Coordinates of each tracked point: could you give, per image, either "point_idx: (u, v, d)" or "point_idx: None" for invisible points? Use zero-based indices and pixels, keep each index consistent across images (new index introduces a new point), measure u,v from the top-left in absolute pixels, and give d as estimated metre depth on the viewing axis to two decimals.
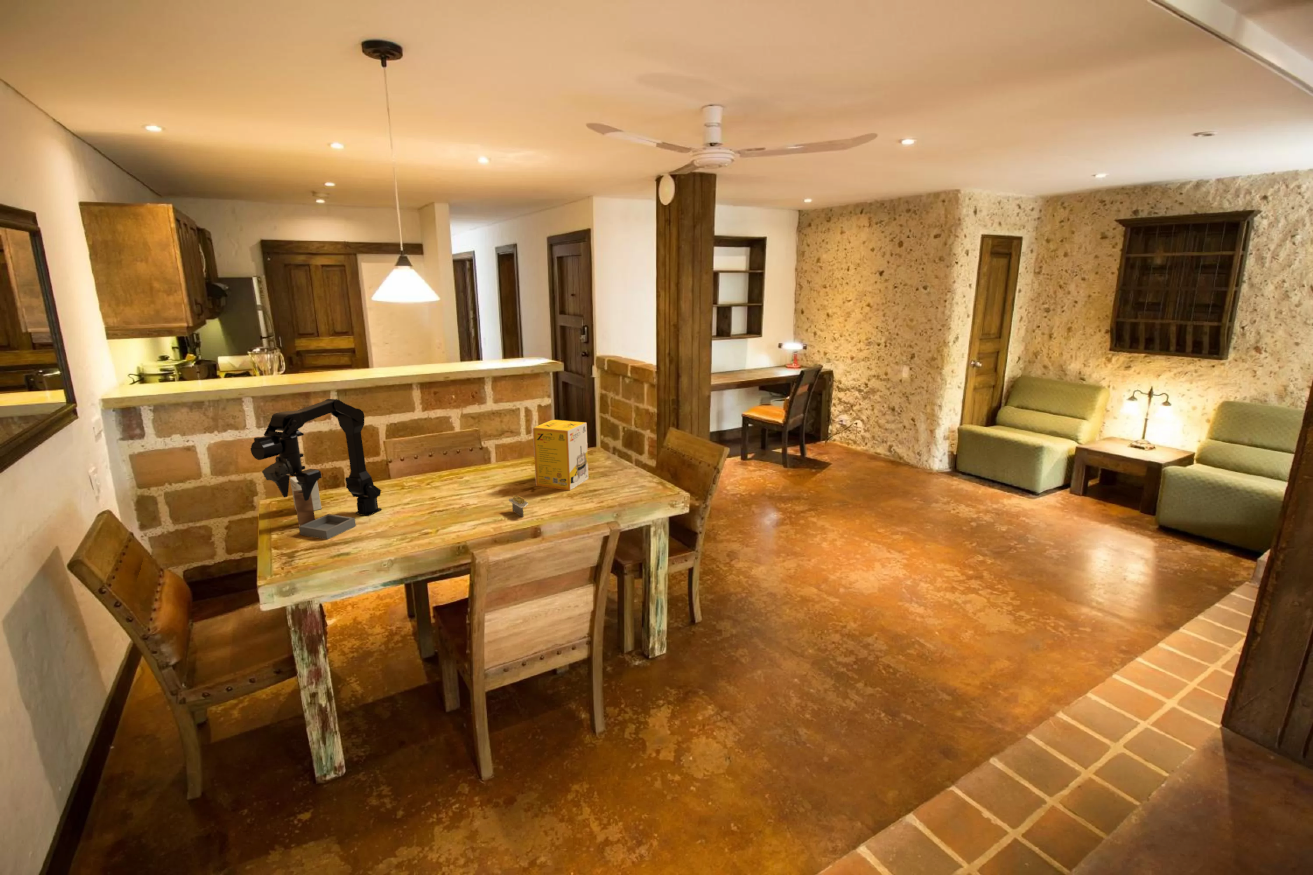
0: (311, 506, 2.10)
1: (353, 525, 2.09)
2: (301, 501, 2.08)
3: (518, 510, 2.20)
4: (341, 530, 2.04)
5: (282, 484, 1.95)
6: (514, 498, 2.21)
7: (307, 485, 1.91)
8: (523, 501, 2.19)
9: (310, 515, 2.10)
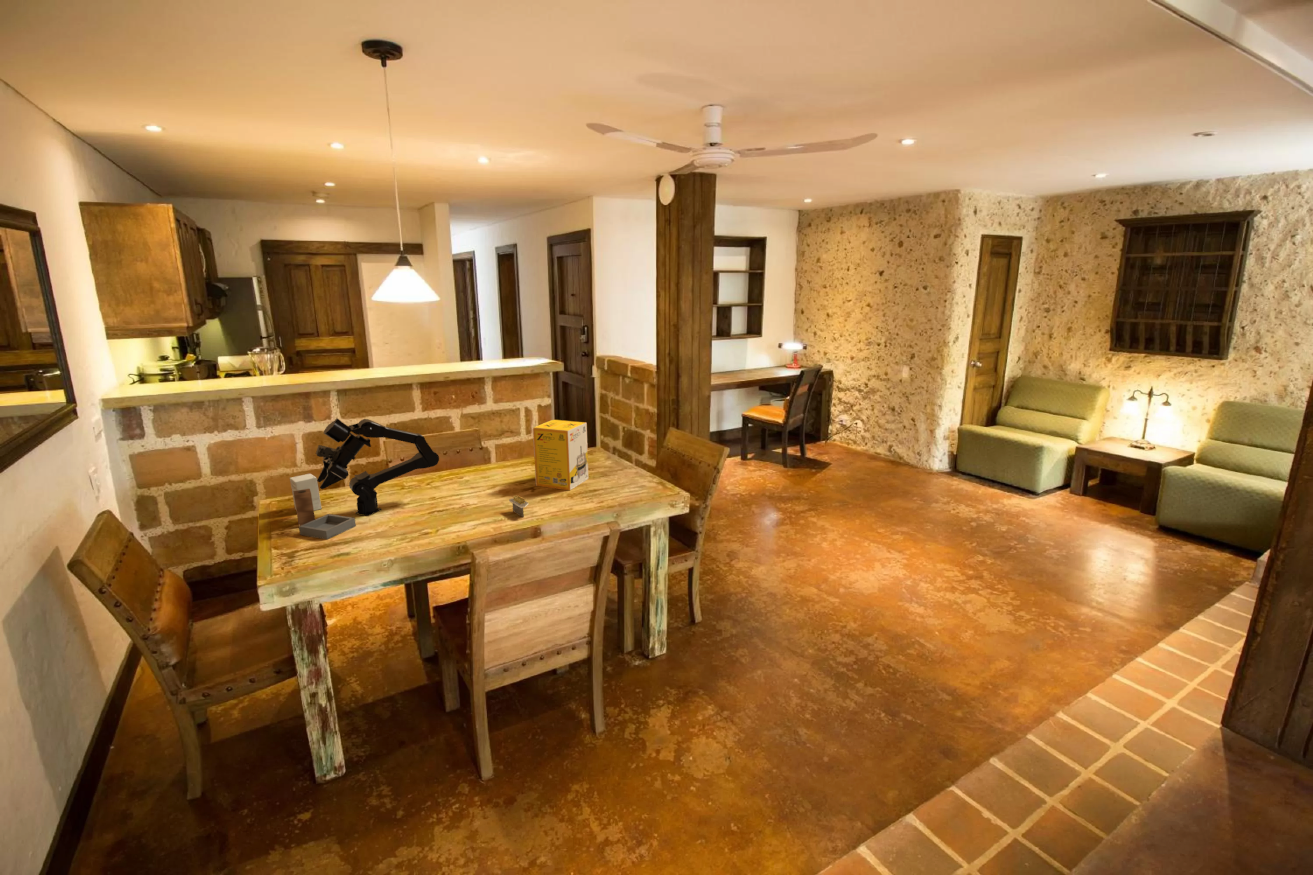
0: (311, 506, 2.10)
1: (353, 525, 2.09)
2: (301, 501, 2.08)
3: (518, 510, 2.19)
4: (341, 530, 2.04)
5: (325, 471, 2.16)
6: (514, 498, 2.21)
7: (331, 477, 2.08)
8: (523, 501, 2.19)
9: (310, 515, 2.10)
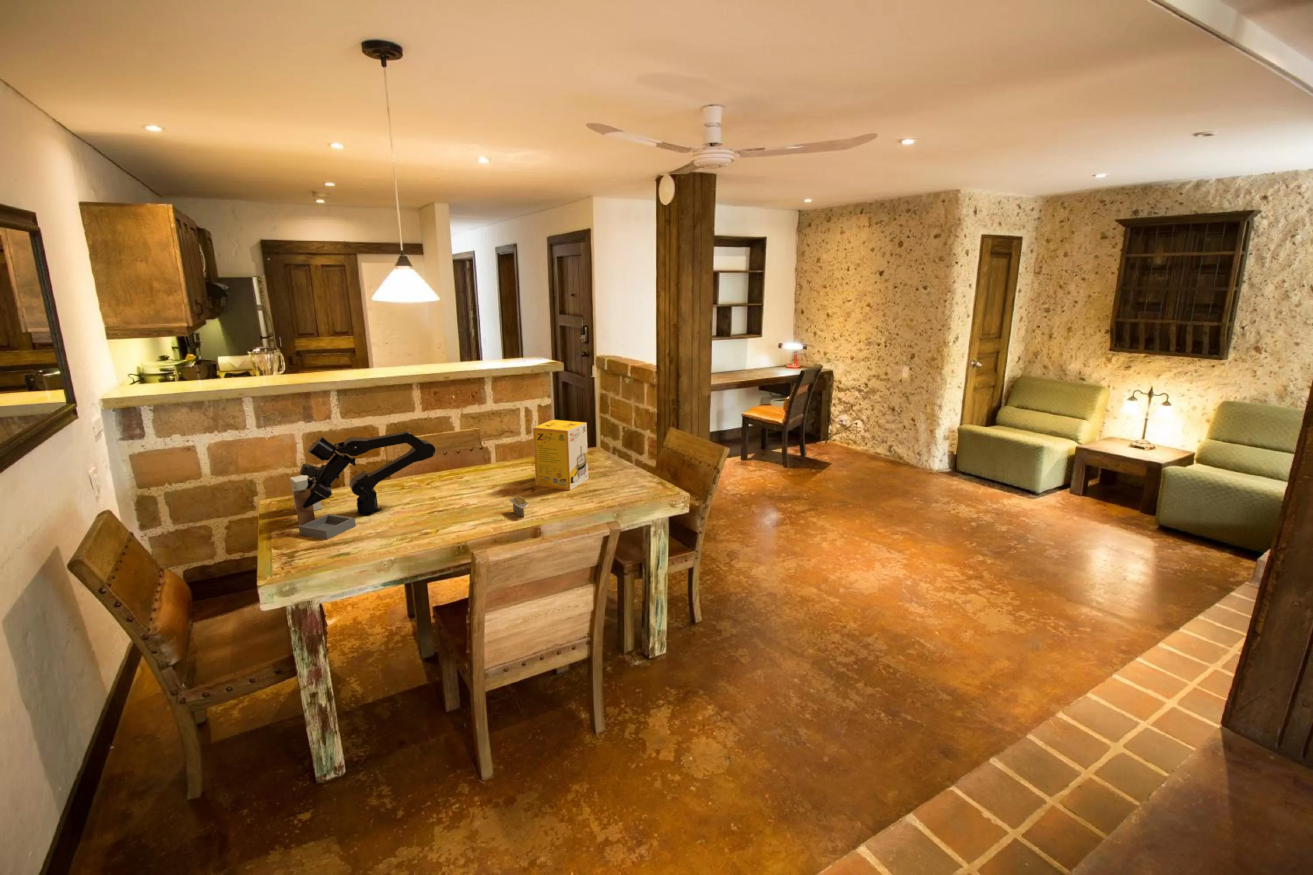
0: (311, 506, 2.10)
1: (353, 525, 2.09)
2: (301, 501, 2.08)
3: (519, 510, 2.19)
4: (341, 530, 2.04)
5: None
6: (515, 498, 2.20)
7: (314, 496, 2.07)
8: (524, 501, 2.19)
9: (310, 515, 2.10)
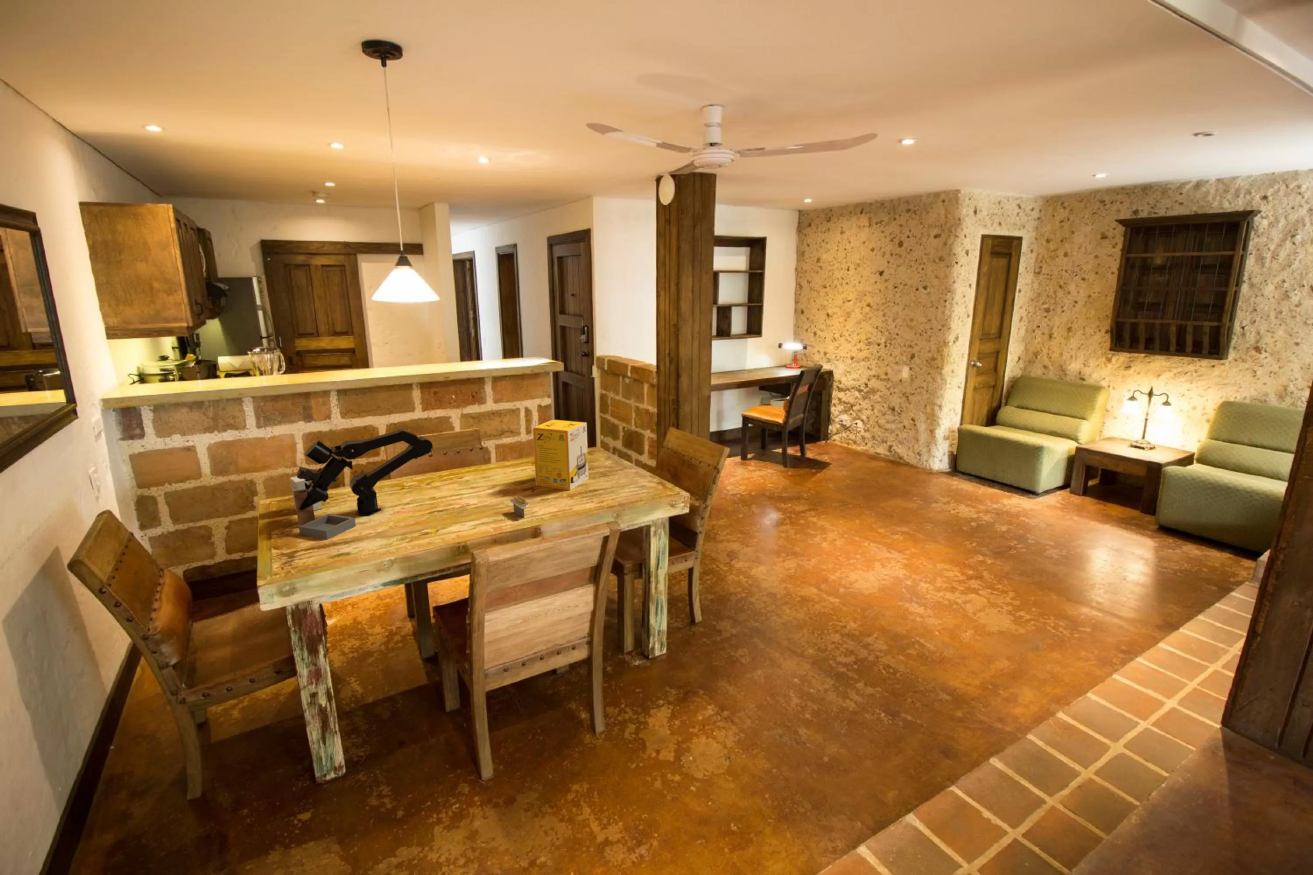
0: (311, 506, 2.10)
1: (353, 525, 2.09)
2: (301, 501, 2.08)
3: (519, 510, 2.19)
4: (341, 530, 2.04)
5: None
6: (515, 499, 2.20)
7: (311, 498, 2.08)
8: (524, 502, 2.19)
9: (310, 515, 2.10)
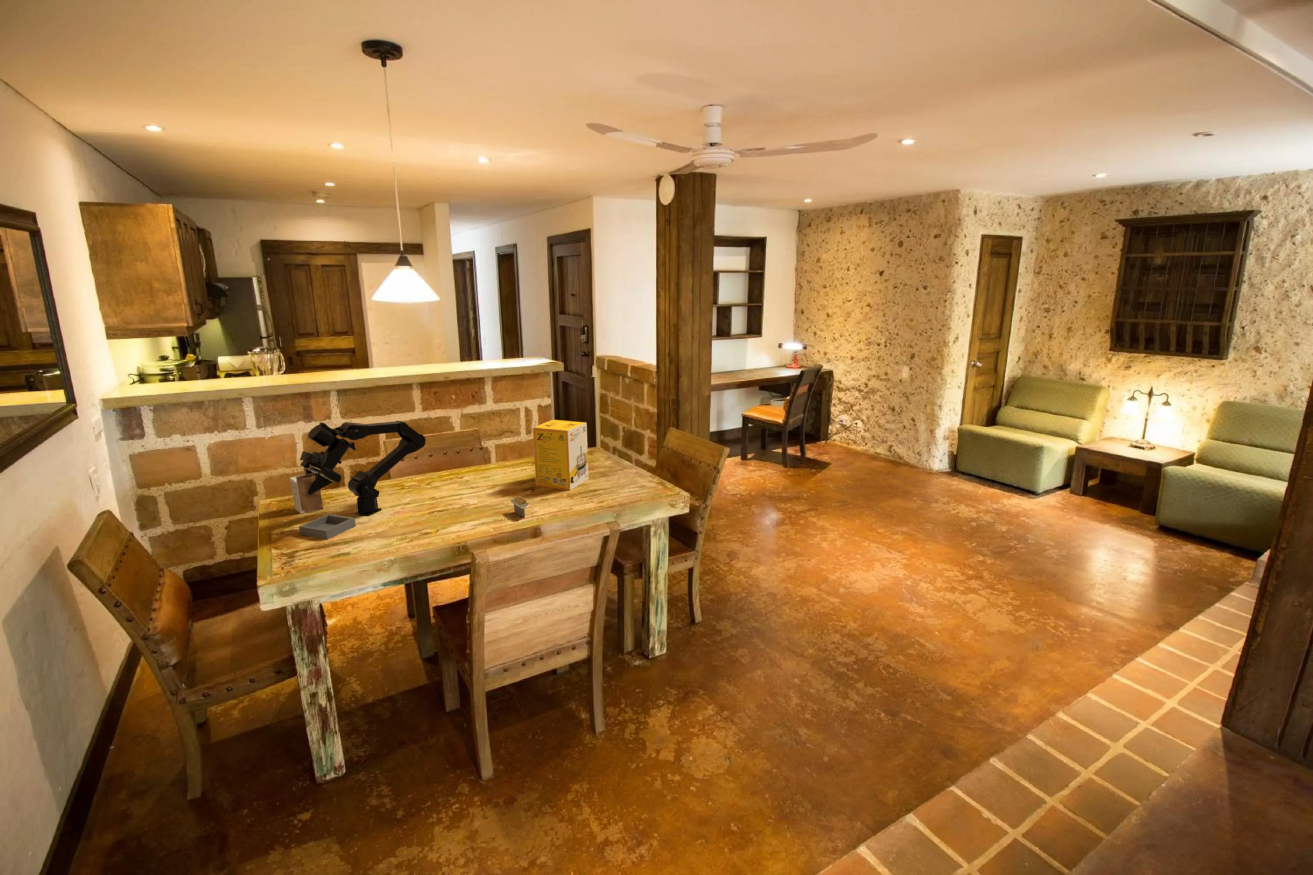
0: (318, 490, 2.05)
1: (353, 525, 2.09)
2: (309, 485, 2.03)
3: (520, 510, 2.19)
4: (341, 530, 2.04)
5: None
6: (516, 499, 2.20)
7: (320, 481, 2.04)
8: (525, 502, 2.18)
9: (318, 499, 2.06)
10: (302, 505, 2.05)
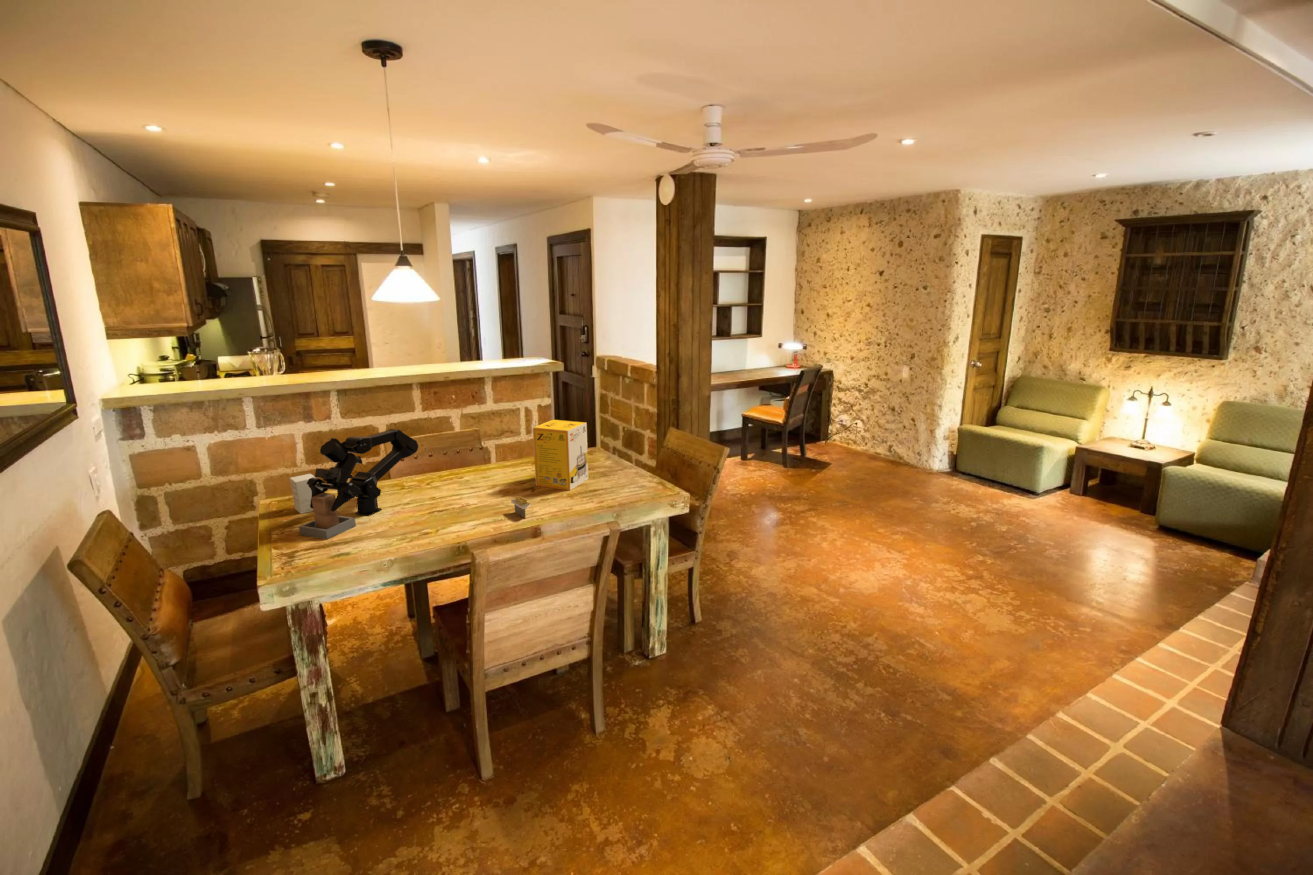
0: None
1: (353, 525, 2.09)
2: (328, 504, 2.03)
3: (520, 511, 2.18)
4: (341, 530, 2.04)
5: None
6: (516, 499, 2.20)
7: (342, 497, 2.04)
8: (525, 502, 2.18)
9: (335, 518, 2.06)
10: (319, 525, 2.04)
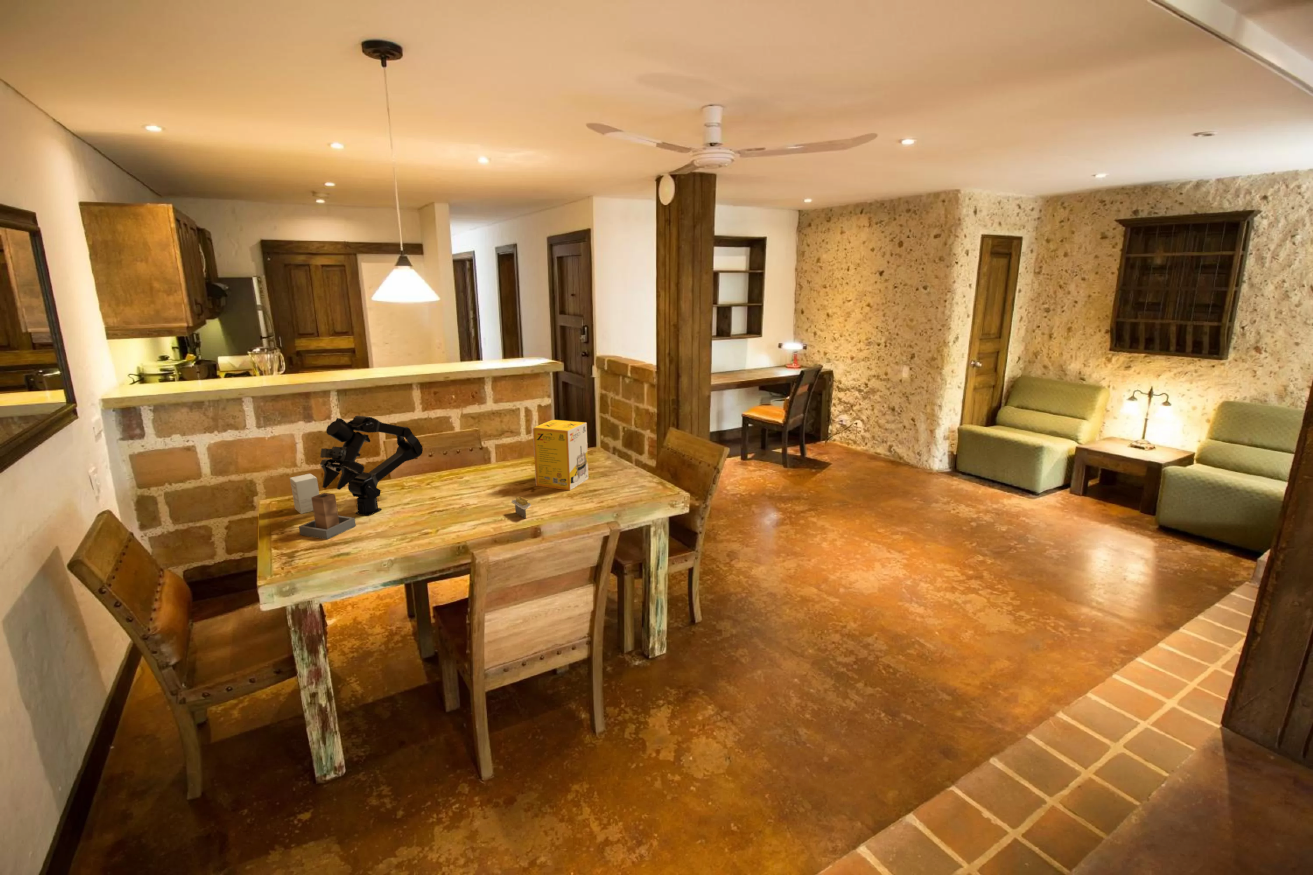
0: (335, 508, 2.06)
1: (353, 525, 2.09)
2: (328, 504, 2.03)
3: (521, 511, 2.18)
4: (341, 530, 2.04)
5: (328, 475, 2.12)
6: (517, 499, 2.19)
7: (347, 475, 2.06)
8: (526, 503, 2.18)
9: (335, 518, 2.06)
10: (319, 525, 2.04)
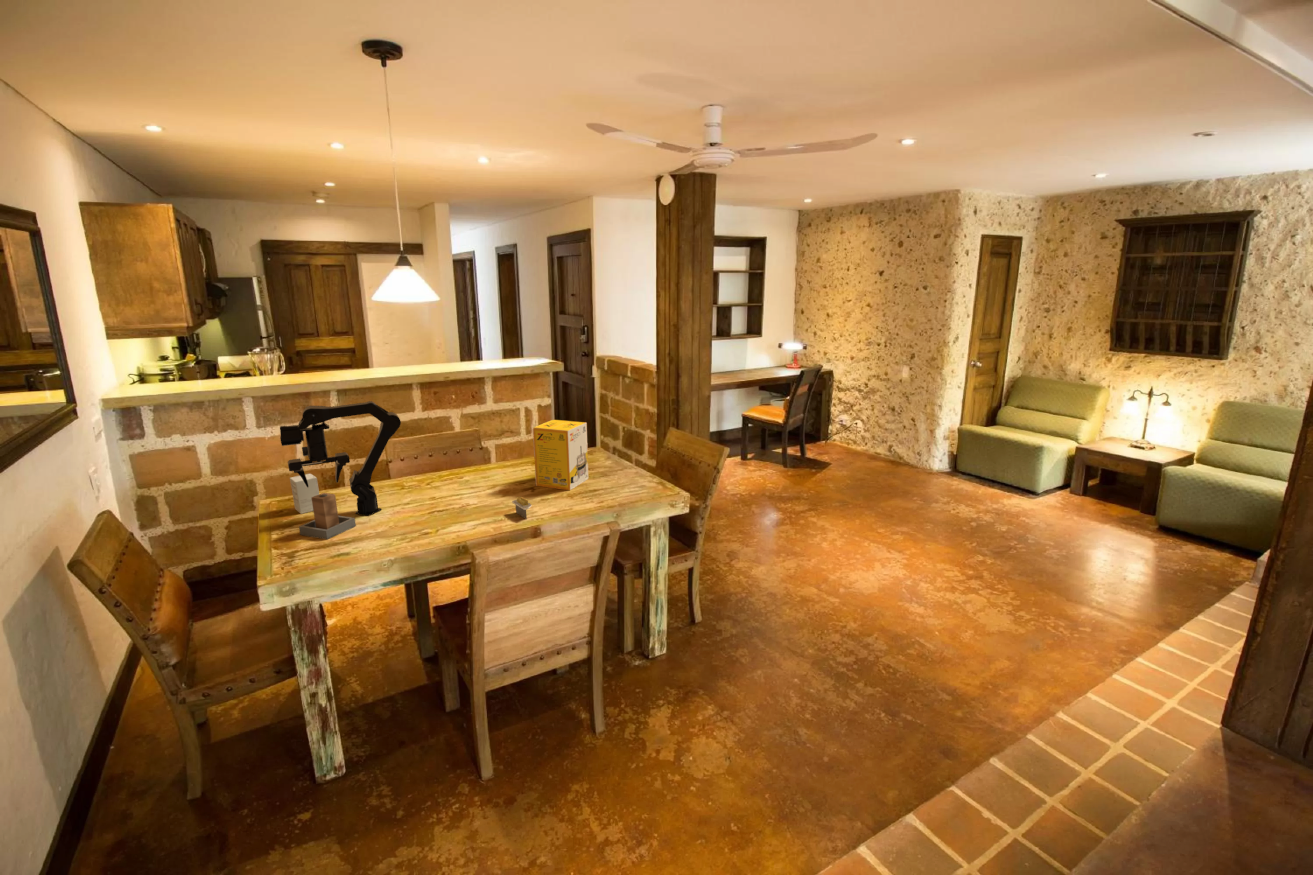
0: (335, 508, 2.06)
1: (353, 525, 2.09)
2: (328, 504, 2.03)
3: (522, 511, 2.18)
4: (341, 530, 2.04)
5: None
6: (517, 500, 2.19)
7: None
8: (526, 503, 2.17)
9: (335, 518, 2.06)
10: (319, 525, 2.04)
